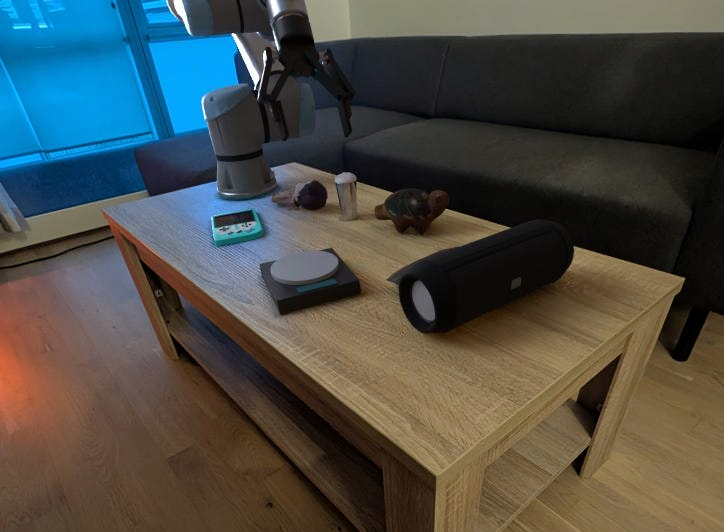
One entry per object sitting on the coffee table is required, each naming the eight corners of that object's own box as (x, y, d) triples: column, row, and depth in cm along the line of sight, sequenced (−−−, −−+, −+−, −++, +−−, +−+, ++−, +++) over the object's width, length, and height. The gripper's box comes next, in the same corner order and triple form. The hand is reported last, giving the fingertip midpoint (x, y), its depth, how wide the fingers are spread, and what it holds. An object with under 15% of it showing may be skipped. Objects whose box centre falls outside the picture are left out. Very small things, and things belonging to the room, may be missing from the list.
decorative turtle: (447, 239, 85) (445, 197, 80) (371, 241, 89) (364, 201, 84) (453, 218, 92) (452, 178, 87) (382, 220, 96) (377, 182, 91)
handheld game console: (214, 246, 89) (212, 240, 88) (211, 220, 101) (209, 214, 100) (264, 237, 91) (263, 231, 90) (255, 213, 103) (254, 207, 102)
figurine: (288, 192, 110) (337, 183, 102) (289, 219, 111) (337, 212, 103) (259, 182, 102) (309, 172, 94) (260, 211, 102) (310, 203, 95)
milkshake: (335, 215, 99) (329, 167, 93) (359, 212, 99) (354, 165, 93) (335, 222, 95) (329, 173, 89) (360, 220, 96) (356, 171, 89)
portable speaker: (440, 353, 57) (442, 283, 51) (395, 320, 63) (392, 255, 57) (571, 290, 67) (586, 225, 61) (521, 267, 74) (530, 207, 68)
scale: (262, 277, 77) (257, 259, 75) (333, 260, 80) (331, 243, 78) (280, 315, 67) (275, 295, 65) (361, 294, 70) (359, 275, 68)
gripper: (228, 8, 79) (260, 131, 82) (355, 15, 89) (379, 124, 92) (224, 35, 86) (254, 148, 89) (342, 39, 96) (365, 140, 99)
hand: (318, 136), depth 90 cm, fingers open, 13 cm apart
